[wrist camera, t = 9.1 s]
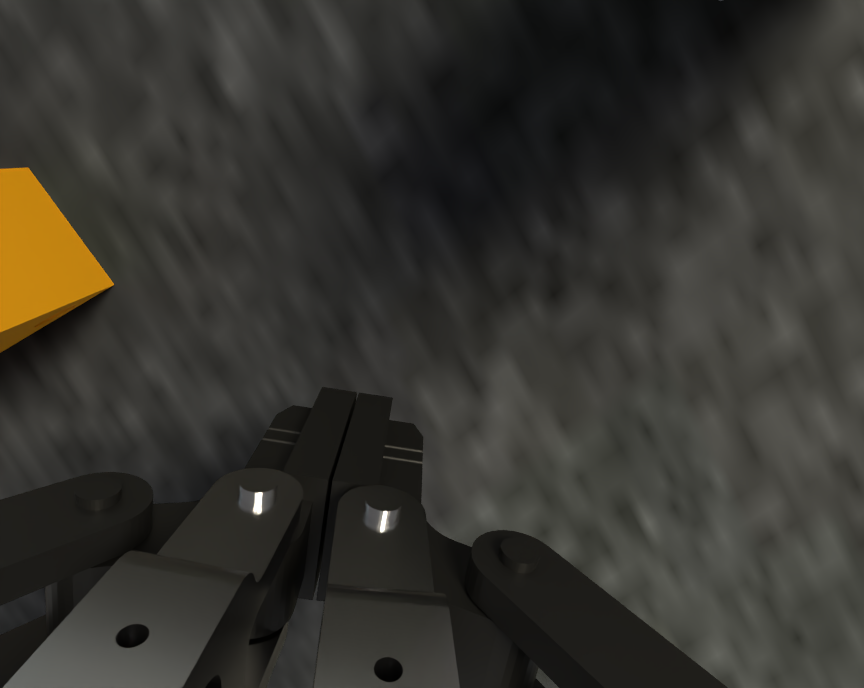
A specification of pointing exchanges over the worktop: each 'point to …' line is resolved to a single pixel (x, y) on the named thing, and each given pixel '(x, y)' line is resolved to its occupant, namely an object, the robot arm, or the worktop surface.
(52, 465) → the worktop surface
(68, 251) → the pipe clamp
